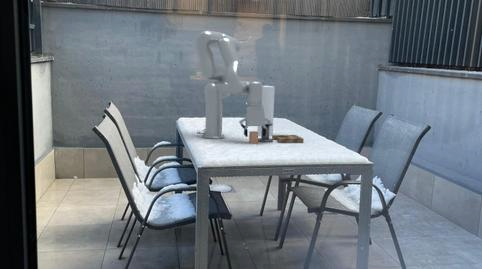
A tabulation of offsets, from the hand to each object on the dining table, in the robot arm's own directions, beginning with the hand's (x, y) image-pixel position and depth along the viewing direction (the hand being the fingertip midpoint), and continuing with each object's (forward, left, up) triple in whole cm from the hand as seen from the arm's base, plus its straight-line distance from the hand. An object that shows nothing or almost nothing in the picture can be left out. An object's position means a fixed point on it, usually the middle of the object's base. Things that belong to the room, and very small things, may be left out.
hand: (254, 136), depth 247 cm
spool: (+7, +6, -4) cm, 10 cm away
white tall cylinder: (+13, +29, -4) cm, 32 cm away
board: (+20, +6, -4) cm, 22 cm away
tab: (-1, +1, -4) cm, 4 cm away
